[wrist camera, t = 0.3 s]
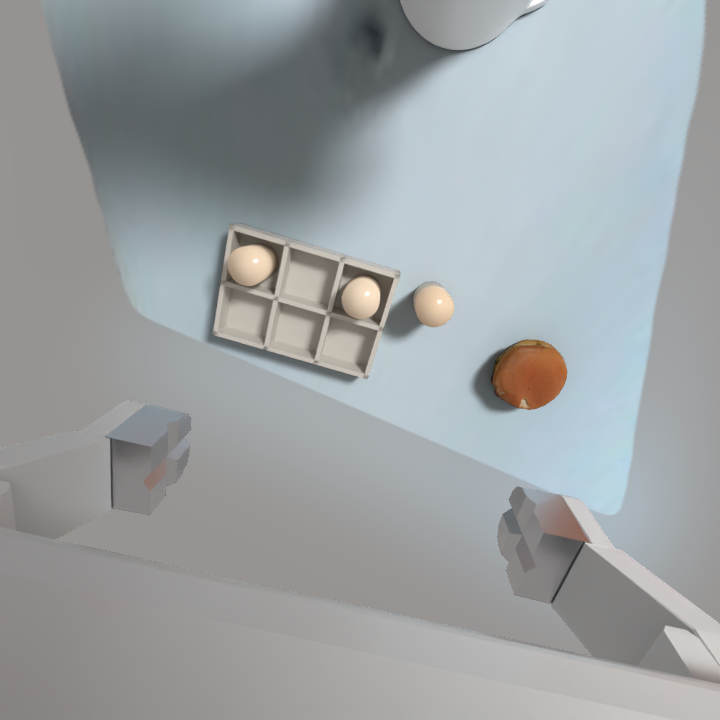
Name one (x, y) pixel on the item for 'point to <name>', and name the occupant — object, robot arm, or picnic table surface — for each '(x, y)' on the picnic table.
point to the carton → (303, 304)
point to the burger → (529, 374)
